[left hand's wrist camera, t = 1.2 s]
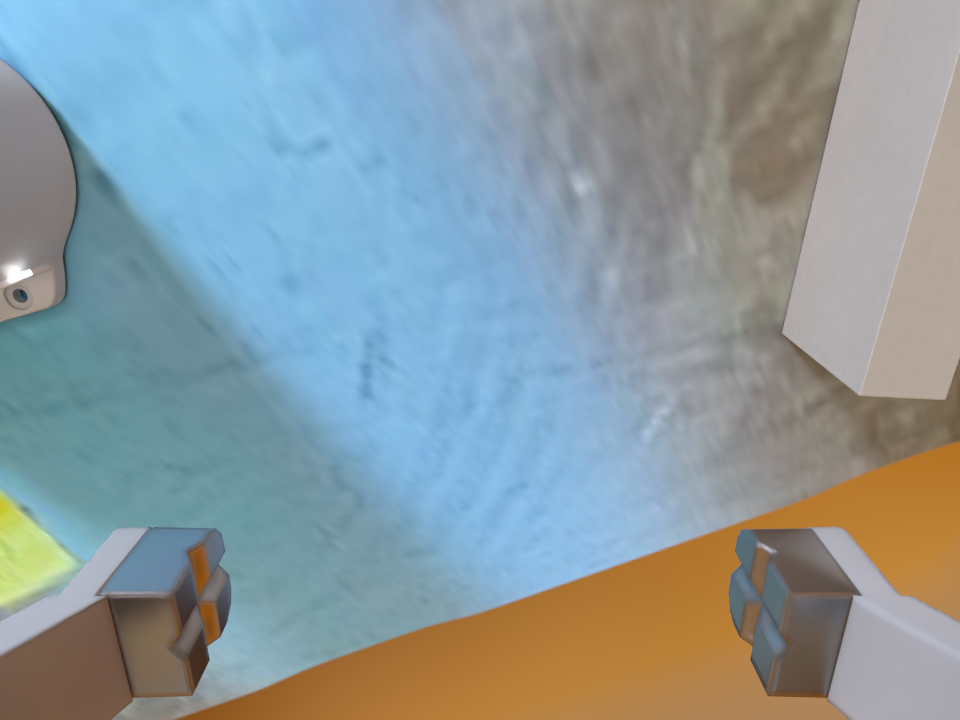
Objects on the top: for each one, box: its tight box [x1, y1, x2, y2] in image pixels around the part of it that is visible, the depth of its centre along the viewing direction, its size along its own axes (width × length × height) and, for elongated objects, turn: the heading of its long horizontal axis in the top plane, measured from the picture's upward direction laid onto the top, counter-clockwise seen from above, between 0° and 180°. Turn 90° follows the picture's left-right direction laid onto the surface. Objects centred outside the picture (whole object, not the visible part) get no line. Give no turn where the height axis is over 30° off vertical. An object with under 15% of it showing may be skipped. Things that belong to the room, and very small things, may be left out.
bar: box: [782, 0, 960, 400], centre depth 35 cm, size 27×4×10 cm, turn 177°
